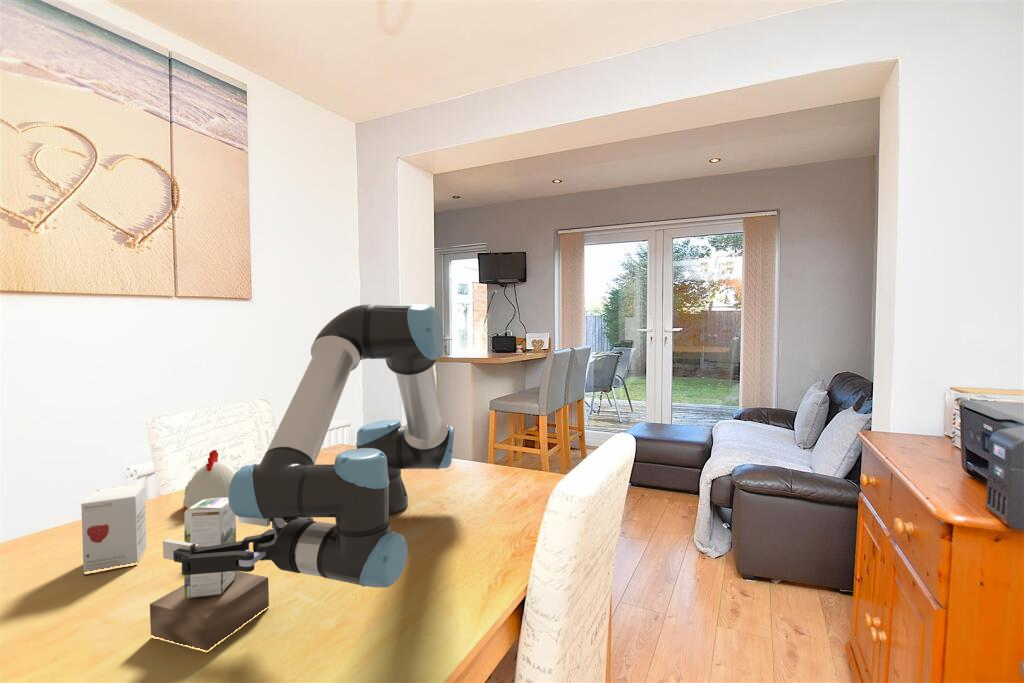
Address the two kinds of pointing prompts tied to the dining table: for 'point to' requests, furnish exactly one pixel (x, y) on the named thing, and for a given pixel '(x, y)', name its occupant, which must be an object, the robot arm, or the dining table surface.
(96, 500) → the supplement box
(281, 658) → the dining table surface
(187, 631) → the walnut block
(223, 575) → the syrup box
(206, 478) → the kitchen timer
